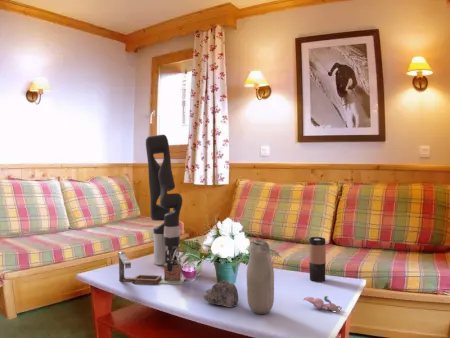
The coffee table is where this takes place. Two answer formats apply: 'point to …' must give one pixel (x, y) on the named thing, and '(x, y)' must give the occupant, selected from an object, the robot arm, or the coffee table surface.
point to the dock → (138, 276)
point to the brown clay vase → (260, 278)
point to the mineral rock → (222, 294)
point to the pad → (172, 282)
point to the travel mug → (317, 259)
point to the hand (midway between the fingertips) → (172, 268)
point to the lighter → (172, 272)
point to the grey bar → (124, 259)
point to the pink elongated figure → (320, 304)
